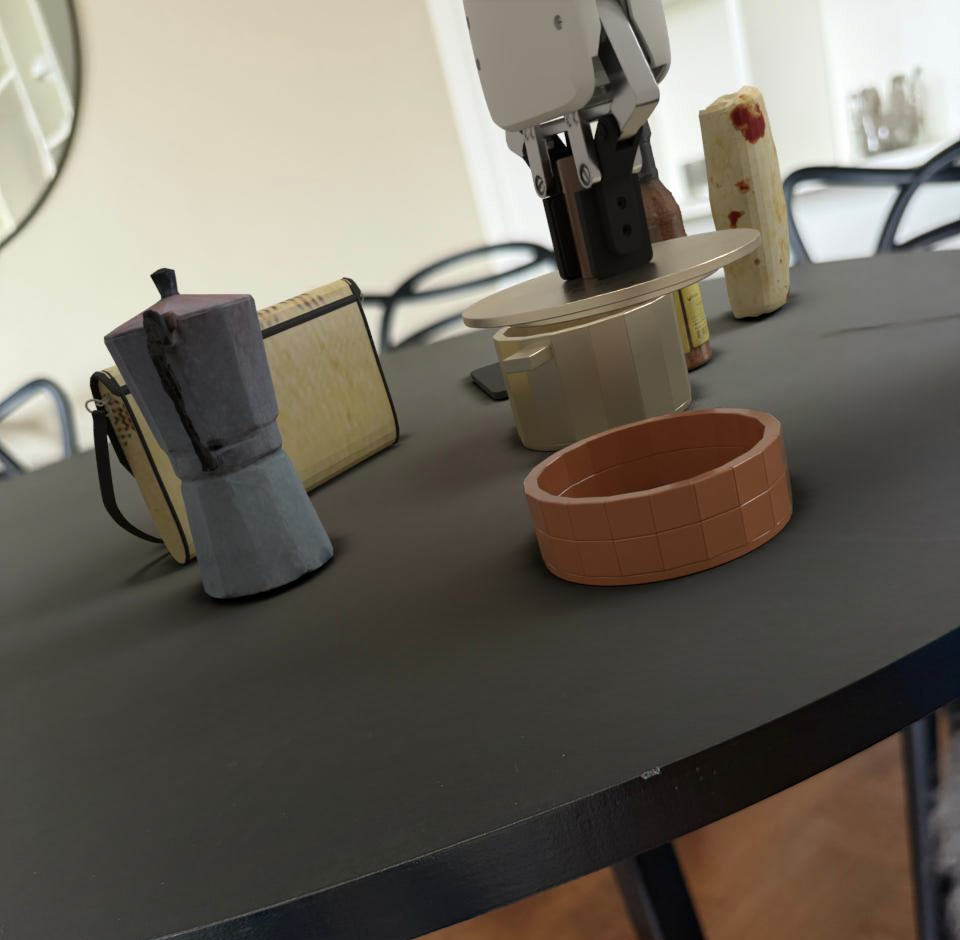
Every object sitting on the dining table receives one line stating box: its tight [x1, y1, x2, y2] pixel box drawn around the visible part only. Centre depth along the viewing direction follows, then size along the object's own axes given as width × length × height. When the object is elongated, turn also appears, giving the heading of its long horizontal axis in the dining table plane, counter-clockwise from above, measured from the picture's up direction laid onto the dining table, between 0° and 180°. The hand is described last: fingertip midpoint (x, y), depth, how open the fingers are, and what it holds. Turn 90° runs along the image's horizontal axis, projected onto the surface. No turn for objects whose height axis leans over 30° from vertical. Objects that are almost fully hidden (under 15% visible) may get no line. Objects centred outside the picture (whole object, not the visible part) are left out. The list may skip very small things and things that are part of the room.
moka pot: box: [103, 267, 334, 600], centre depth 64 cm, size 10×15×20 cm, turn 10°
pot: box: [492, 292, 693, 452], centre depth 79 cm, size 14×19×8 cm
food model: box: [698, 85, 791, 319], centre depth 97 cm, size 10×7×20 cm
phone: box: [469, 361, 509, 400], centre depth 104 cm, size 7×1×15 cm
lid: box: [461, 155, 761, 329], centre depth 50 cm, size 15×15×7 cm
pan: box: [523, 407, 794, 587], centre depth 55 cm, size 14×14×4 cm
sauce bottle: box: [638, 119, 713, 372], centre depth 86 cm, size 6×6×20 cm
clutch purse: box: [84, 276, 401, 566], centre depth 83 cm, size 30×7×15 cm, turn 144°
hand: (606, 268), depth 50 cm, fingers closed on lid, 2 cm apart
